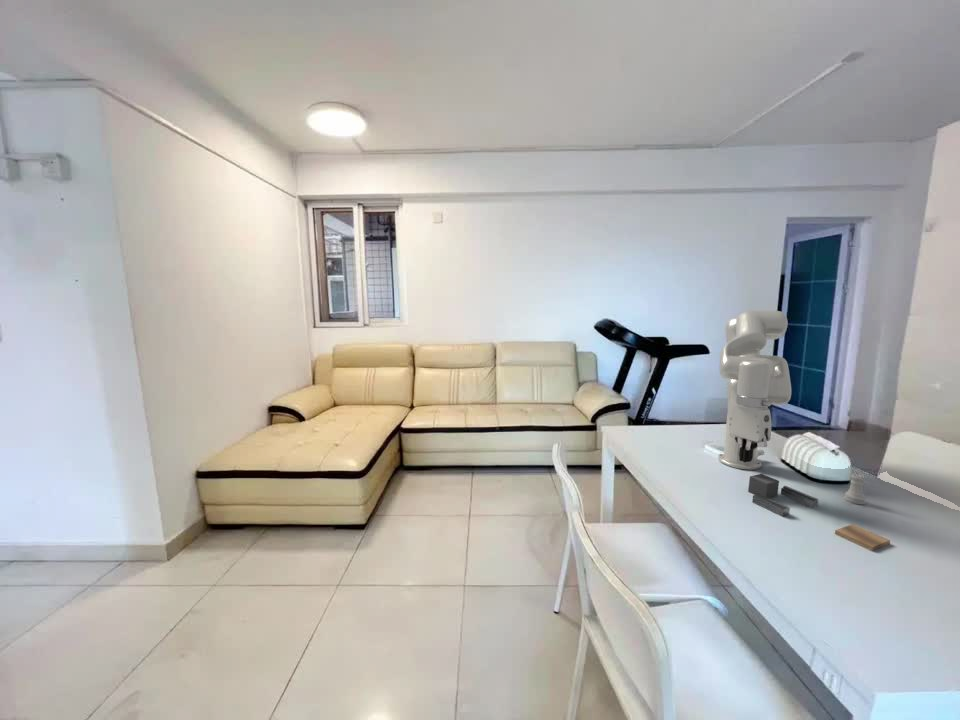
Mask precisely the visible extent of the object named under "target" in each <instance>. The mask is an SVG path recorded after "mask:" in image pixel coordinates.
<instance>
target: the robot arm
mask: <svg viewBox="0 0 960 720" xmlns="http://www.w3.org/2000/svg"><path fill="white" fill-rule="evenodd" d="M788 322H789V321H788V318H787V314H785V313H784V312H783V311H779V310H746V311H744V312H742V313H740V314H739V315H738V316H735V317H732V318H730V319H728V321H727V322H726V324H725V338H726V344H725V345H724V346H723V348H722V349H721V351H720V354H719V366H718V367H719V368H718V369H719V374H720V376H721V378H724V379H726V380H727V382H726V389H727V391H726V392H727V414H726V422H725V423H726V424H725V433H724V435H725V437H724V446H723V453H724V454H721V453H719V454H718V455H717V456H718V457H717V459H718V461H719V462H721V463H722V464H724V465H726V466H727V467H728V466H729V467H732V468H735V469H739V470H748V471H749V470H752V471H755V470H759V469H761V468H762V462H761V461H760V460H759V459H758V457H759V456H764V455H765V450H763V449H758V448H768V442H769V441H771V437H772V416H771V410H770V408H768V407H770V406H772V405H774V406H776V405H777V406H784V405H787V404H788V403H789V402H790V400H791V397H792V383H791V376H790V369H789V365H788V361H787V360H786V359H785V358H784V357H782V356H778V355H771V354H770V355H766V354H761V350H763V349H764V348H765V346H766V344H767V342H768V340H777V339H780V338H781V337H783V335H784V334H785V333H786V332H787V330H788V329H787V328H788V324H789V323H788Z"/></svg>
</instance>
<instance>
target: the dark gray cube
mask: <svg viewBox="0 0 960 720" xmlns="http://www.w3.org/2000/svg"><path fill="white" fill-rule="evenodd" d="M779 485H780V480H778V479H775V478H773V477H771V476H768V475H766V474H763V473H759V474H754V475H751V476H750V475H749V479H748V491H747V492H748V493H749V494H752V495H755V494H756V493H758V494H761V495H763V496H765V497H767V498H769V499H774V498H777V497H778V494H779Z"/></svg>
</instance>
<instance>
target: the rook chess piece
mask: <svg viewBox="0 0 960 720" xmlns="http://www.w3.org/2000/svg"><path fill="white" fill-rule="evenodd" d="M849 476H850V478H851V480H850V486H849V488H848V489H847V491H846V492H844V499H845V501H847V502H849V503H851V504H853V505H854V504H855V505H859V504H860V505H862V506H863V505H864V504H866V503H867V502H866V499H867V498H866V496H865V494H864V485H865V483H864V482H865V481H866V480H867V478H866V477H865V476H866V475H865V474H862V473H858V474H857V472H852V474H850V475H849ZM860 505H859V506H860Z"/></svg>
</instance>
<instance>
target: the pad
mask: <svg viewBox="0 0 960 720" xmlns="http://www.w3.org/2000/svg"><path fill="white" fill-rule="evenodd" d="M834 534H835V535H837V536H839V537H841V538H843V539H845V540H847V541H850V542H852V543H854V544H856V545H858V546H860V547H862V548H864V549H867V550H869V551H871V552H873V551H875V550H878V549H881V548H884V547H886V546H889V545H890V544H891V540H890V539H888V538H887V537H884V536H881V535H879V534H878V533H877V534H876V533H875V532H873V531H869V530H867V529H865V528H863V527H861V526H859V525H856V524H853V523H852V524H848V525H846V526H843V527H841V528H838V529H835V532H834Z"/></svg>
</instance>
